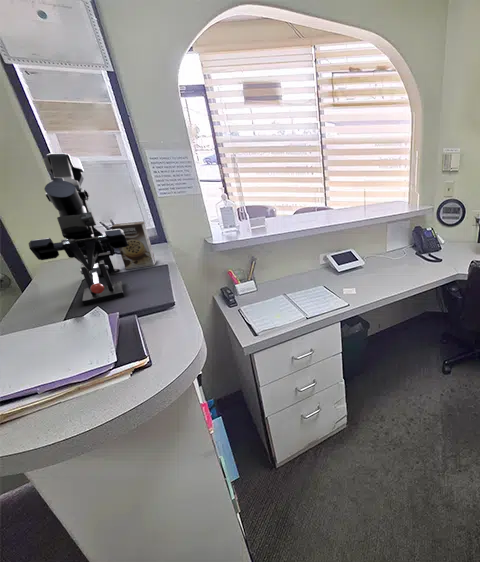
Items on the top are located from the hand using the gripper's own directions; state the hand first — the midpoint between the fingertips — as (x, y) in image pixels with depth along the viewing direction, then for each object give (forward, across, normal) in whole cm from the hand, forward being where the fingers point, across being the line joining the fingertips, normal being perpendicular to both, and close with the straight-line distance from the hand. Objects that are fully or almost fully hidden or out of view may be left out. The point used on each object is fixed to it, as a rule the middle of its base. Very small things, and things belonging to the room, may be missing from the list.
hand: (90, 269), depth 81 cm
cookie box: (-19, +11, +34) cm, 41 cm away
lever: (0, 0, +8) cm, 8 cm away
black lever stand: (0, 0, +15) cm, 15 cm away
